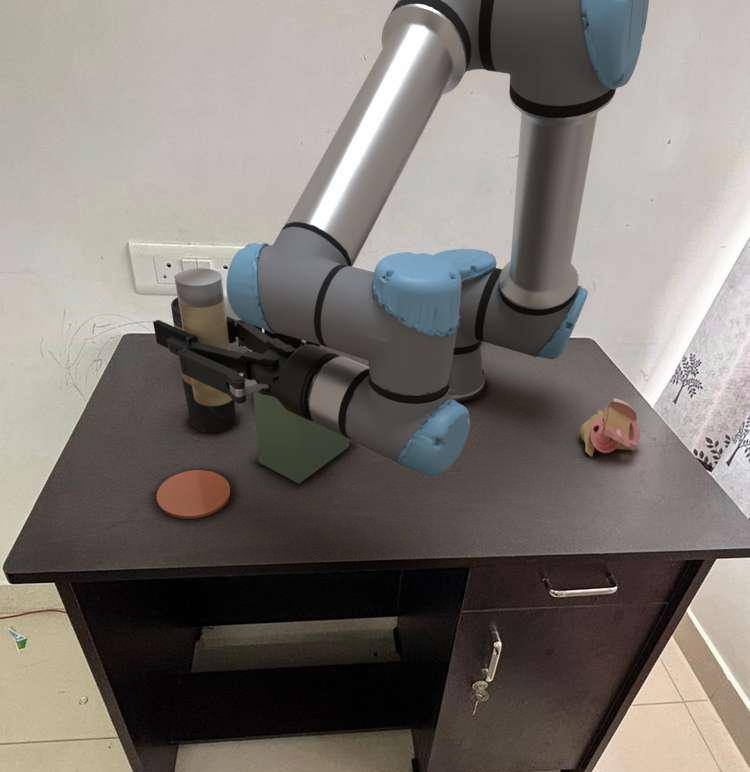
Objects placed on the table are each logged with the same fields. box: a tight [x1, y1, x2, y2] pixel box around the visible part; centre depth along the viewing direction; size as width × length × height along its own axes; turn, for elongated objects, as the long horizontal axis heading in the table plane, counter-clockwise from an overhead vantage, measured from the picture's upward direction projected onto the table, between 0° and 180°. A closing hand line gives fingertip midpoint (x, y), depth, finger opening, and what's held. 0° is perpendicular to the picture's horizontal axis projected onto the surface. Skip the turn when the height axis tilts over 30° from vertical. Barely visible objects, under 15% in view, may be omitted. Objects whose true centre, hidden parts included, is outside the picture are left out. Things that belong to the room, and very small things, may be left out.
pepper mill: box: [174, 267, 232, 406], centre depth 74 cm, size 14×5×14 cm
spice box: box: [252, 392, 350, 484], centre depth 93 cm, size 8×12×14 cm, turn 144°
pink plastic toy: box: [579, 397, 640, 457], centre depth 101 cm, size 9×10×10 cm
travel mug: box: [170, 296, 236, 434], centre depth 96 cm, size 8×8×20 cm
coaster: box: [156, 469, 231, 520], centre depth 88 cm, size 10×10×1 cm
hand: (176, 323), depth 76 cm, fingers closed on pepper mill, 5 cm apart
